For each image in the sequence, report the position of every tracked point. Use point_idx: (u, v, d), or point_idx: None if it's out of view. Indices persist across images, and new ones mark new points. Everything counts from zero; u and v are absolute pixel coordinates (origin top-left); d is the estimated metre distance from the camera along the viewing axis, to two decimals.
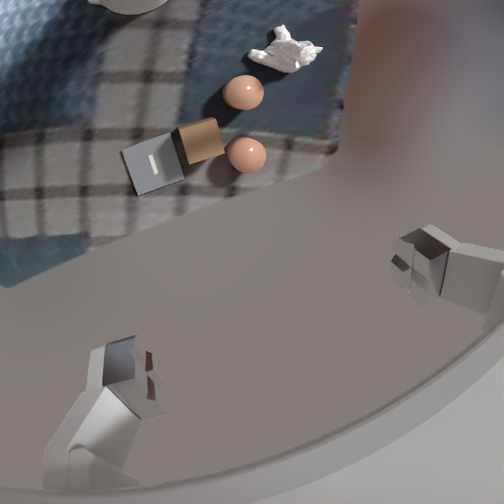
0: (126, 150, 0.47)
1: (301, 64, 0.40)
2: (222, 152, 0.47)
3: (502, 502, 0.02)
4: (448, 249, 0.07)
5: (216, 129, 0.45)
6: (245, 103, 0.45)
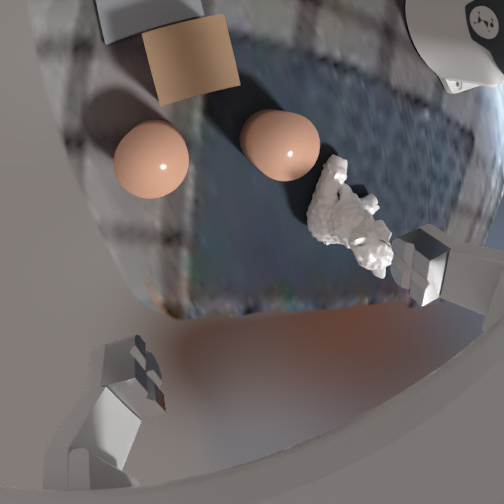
0: None
1: (356, 247, 0.25)
2: (162, 101, 0.19)
3: (503, 502, 0.02)
4: (448, 249, 0.07)
5: (216, 86, 0.19)
6: (265, 145, 0.24)
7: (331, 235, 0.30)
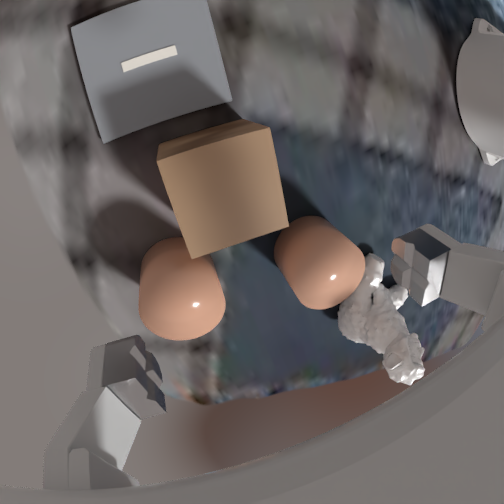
0: None
1: None
2: (194, 252, 0.17)
3: (502, 502, 0.02)
4: (448, 249, 0.07)
5: (260, 230, 0.18)
6: (308, 280, 0.22)
7: (363, 341, 0.28)
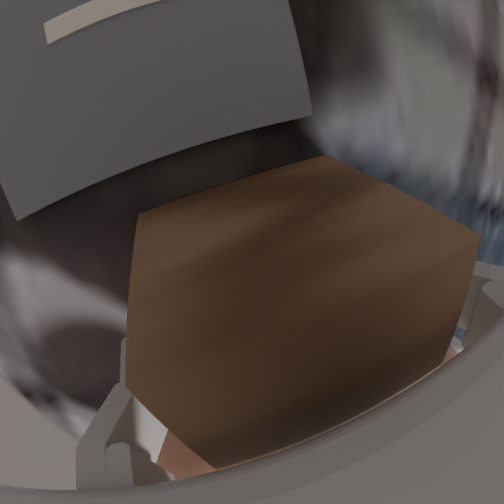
0: None
1: None
2: None
3: (502, 502, 0.02)
4: None
5: None
6: None
7: None
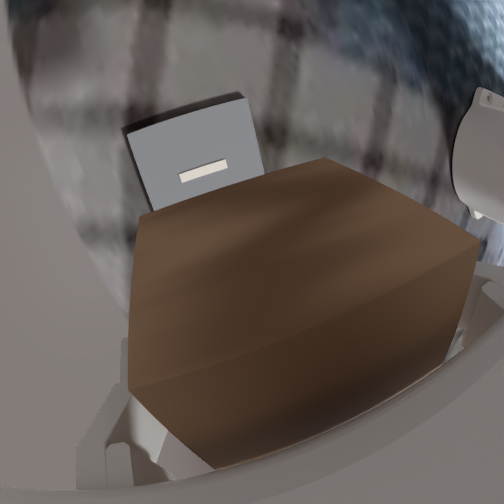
0: (244, 108, 0.20)
1: None
2: None
3: (502, 502, 0.02)
4: None
5: None
6: None
7: None
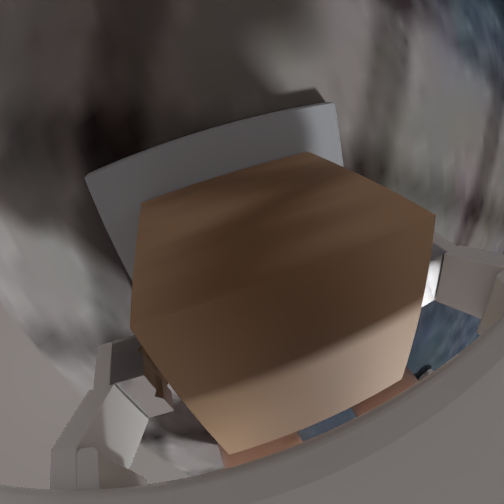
0: (329, 124, 0.10)
1: None
2: (233, 448, 0.07)
3: (502, 502, 0.02)
4: (443, 252, 0.07)
5: (358, 399, 0.08)
6: None
7: None
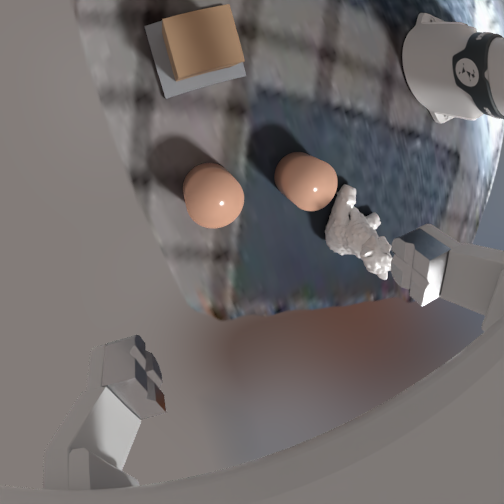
0: None
1: (365, 258, 0.34)
2: (180, 73, 0.22)
3: (502, 502, 0.02)
4: (448, 249, 0.07)
5: (225, 61, 0.22)
6: (298, 186, 0.32)
7: (345, 248, 0.39)
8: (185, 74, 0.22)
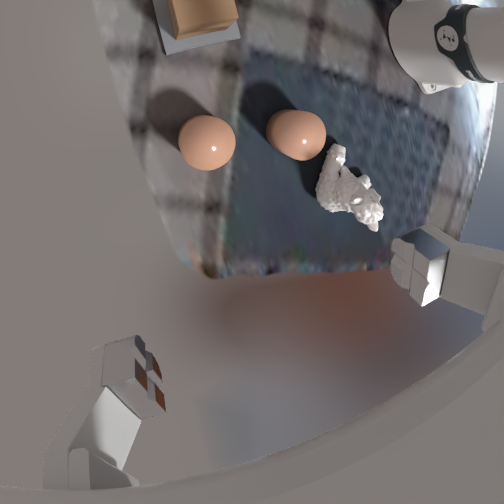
0: None
1: (355, 206, 0.34)
2: (181, 25, 0.22)
3: (502, 502, 0.02)
4: (448, 249, 0.07)
5: (221, 17, 0.23)
6: (288, 134, 0.33)
7: (335, 203, 0.39)
8: (185, 26, 0.22)
